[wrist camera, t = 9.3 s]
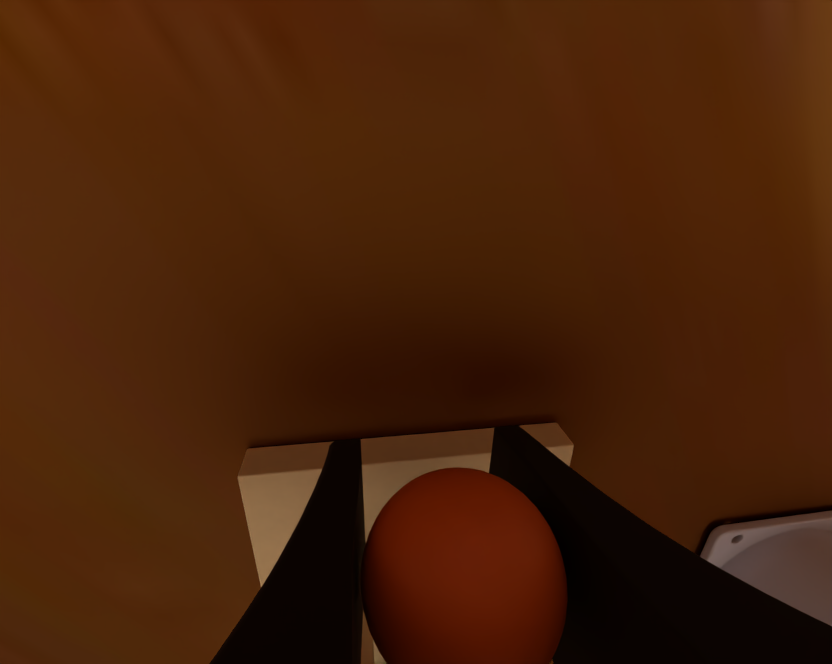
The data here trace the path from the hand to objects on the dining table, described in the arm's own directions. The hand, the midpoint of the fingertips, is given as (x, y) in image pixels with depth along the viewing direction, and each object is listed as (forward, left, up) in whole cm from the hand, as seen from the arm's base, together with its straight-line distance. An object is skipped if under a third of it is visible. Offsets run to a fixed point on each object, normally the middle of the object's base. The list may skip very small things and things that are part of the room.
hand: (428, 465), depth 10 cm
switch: (0, +4, +2) cm, 4 cm away
